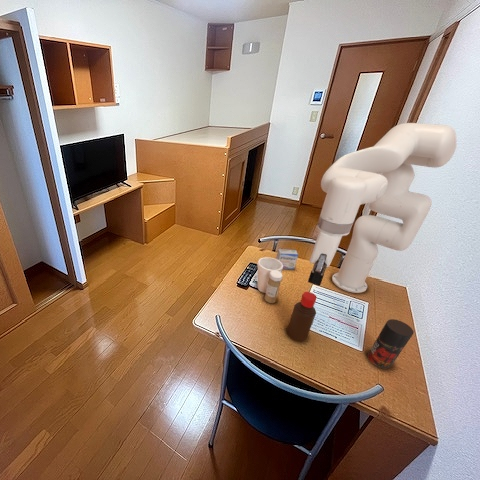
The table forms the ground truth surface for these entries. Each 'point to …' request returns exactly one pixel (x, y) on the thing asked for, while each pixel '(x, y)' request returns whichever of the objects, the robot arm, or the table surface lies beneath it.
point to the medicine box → (287, 258)
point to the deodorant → (390, 343)
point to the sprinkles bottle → (273, 286)
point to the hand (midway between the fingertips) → (316, 277)
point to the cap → (308, 299)
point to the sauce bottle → (300, 322)
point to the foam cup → (266, 271)
